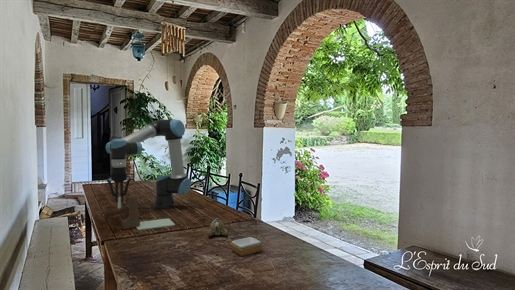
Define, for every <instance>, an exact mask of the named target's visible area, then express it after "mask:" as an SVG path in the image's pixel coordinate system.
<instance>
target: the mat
mask: <svg viewBox="0 0 515 290" xmlns="http://www.w3.org/2000/svg"><path fill="white" fill-rule="evenodd" d="M175 226H176V224H175V223H174V222H173V221H172V220H171V218H161V219H151V220H145V221H144V220H143V221H140V226H137V227H135V228H136V230H137V229H138V230H137V231H144V230H151V229H160V228H167V227H175Z"/></svg>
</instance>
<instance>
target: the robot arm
mask: <svg viewBox="0 0 515 290" xmlns="http://www.w3.org/2000/svg"><path fill="white" fill-rule="evenodd" d="M185 132H186V127H185V124H184V122H182V120H180V119H175V118H174V119H170V118H169V119H158V120H155V121H153V122H151V123H149V124H146V125H145V127H143V128H142V129H139V130H137V131H135V132H133V133H131V134H129V135H127V136H124V137H122V138H119V139H112V140H111V141H109V142H107V143H106V144H105V150H106V152H107V154H111V155H110V157H111V175H110V177H109V178H107V179H106V182H107V183H108V185H109V189H110V192H111V193H110V194H111V195H112V197H115V203H117V209H122V203H123V202H124V196H126V195H127V192H128V188H129V185H130V182H131V181H132V178H131V177H128V175H127V167H126V166H127V156H134V155H135V156H137V155H140V154H141V153H142V152H143V145H142V144H141V143H143V142H144V141H146V140H148V139H153V138H155V137H164V139H165V141H166V142H167V144H168V146H167V147H168V152H169V159H170V160H169V161H170V168H171V174H165V175H158V176H157V177H156V179H155V198H154V203H153V208H155V209H171V208H174V207H175V206H176V203H175V199H174V196H173V194H177V195H186V194H188V193H189V191H190V189H191V186H192V181H191V179H190V178H188V176H187V173H186V172H185V169H184V160H183V151H182V142H181V140H182V139H183V136H184V135H185ZM112 181H113V182H112ZM125 181H126V183H125V186H124V182H125ZM112 183H114V184H115V185H114V188H113V185H112ZM114 189H115V191H114ZM119 194H120V195H119Z"/></svg>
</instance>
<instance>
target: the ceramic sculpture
mask: <svg viewBox="0 0 515 290" xmlns="http://www.w3.org/2000/svg"><path fill="white" fill-rule="evenodd" d="M207 235H208V236H209V237H213V235H214V236H221V235H222V236H227V235H228V230H227V228H226V227H225V225H224V223H223V222H222V220H220V219H219V218H218V217H216V218H215V219H214V220H213V221H212V222H211V224H210V228H209V229H208V230H207Z"/></svg>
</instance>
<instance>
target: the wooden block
mask: <svg viewBox="0 0 515 290" xmlns="http://www.w3.org/2000/svg"><path fill="white" fill-rule="evenodd" d="M138 200H139V199H138V195H136V194H132V195H128V196H127V202H128V210H129V215H128V216H127V218H124V219H122V220H121V223H122V224H121V225H122V230H127V229H132V228H136V227H137V226H140V222H141V220H140V213H139V203H138Z"/></svg>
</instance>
